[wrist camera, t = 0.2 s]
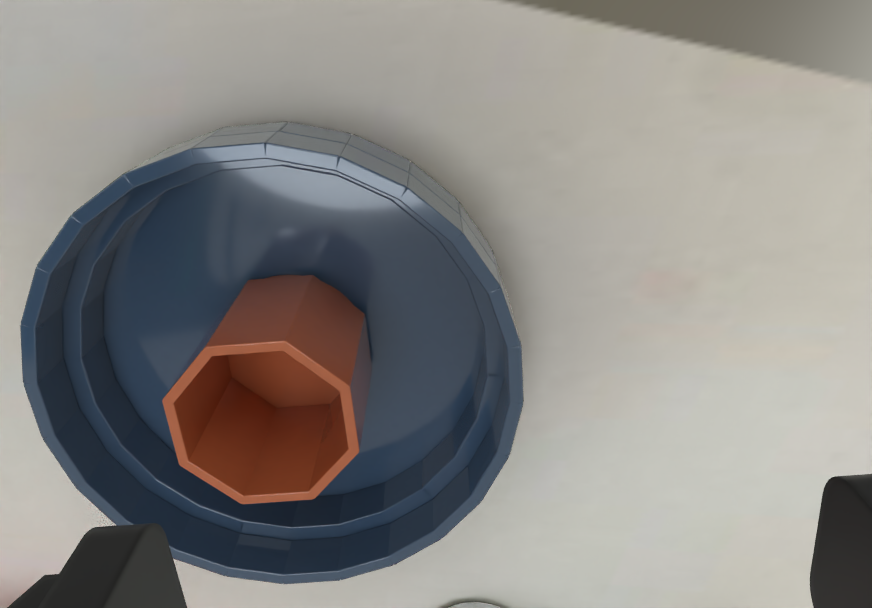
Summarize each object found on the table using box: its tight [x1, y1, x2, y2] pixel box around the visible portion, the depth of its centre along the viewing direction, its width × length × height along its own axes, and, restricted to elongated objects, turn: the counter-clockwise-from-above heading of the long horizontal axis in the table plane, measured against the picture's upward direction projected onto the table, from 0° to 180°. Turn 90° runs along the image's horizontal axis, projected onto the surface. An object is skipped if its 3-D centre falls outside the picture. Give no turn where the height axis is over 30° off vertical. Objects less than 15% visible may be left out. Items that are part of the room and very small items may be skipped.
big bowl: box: [20, 122, 524, 584], centre depth 27 cm, size 17×17×4 cm
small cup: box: [162, 275, 372, 504], centre depth 26 cm, size 6×6×6 cm
